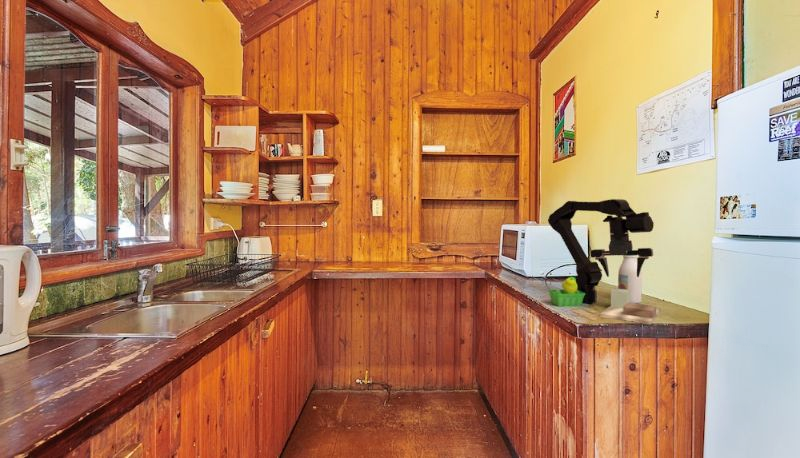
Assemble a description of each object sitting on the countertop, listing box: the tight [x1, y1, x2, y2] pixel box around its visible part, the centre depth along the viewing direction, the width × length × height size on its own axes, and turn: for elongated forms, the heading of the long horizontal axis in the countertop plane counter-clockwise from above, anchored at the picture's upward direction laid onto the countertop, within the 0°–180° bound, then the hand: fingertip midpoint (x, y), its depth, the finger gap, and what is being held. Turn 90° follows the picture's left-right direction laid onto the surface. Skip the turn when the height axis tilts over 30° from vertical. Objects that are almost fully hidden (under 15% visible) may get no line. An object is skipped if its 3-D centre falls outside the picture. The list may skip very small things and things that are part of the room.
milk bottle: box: [617, 251, 643, 304], centre depth 139 cm, size 8×8×20 cm
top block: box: [610, 287, 630, 309], centre depth 128 cm, size 5×5×6 cm
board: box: [599, 305, 662, 325], centre depth 122 cm, size 14×22×1 cm, turn 137°
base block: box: [623, 303, 657, 319], centre depth 118 cm, size 8×8×2 cm
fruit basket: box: [547, 276, 585, 307], centre depth 135 cm, size 11×9×11 cm
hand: (622, 276), depth 127 cm, fingers open, 9 cm apart
